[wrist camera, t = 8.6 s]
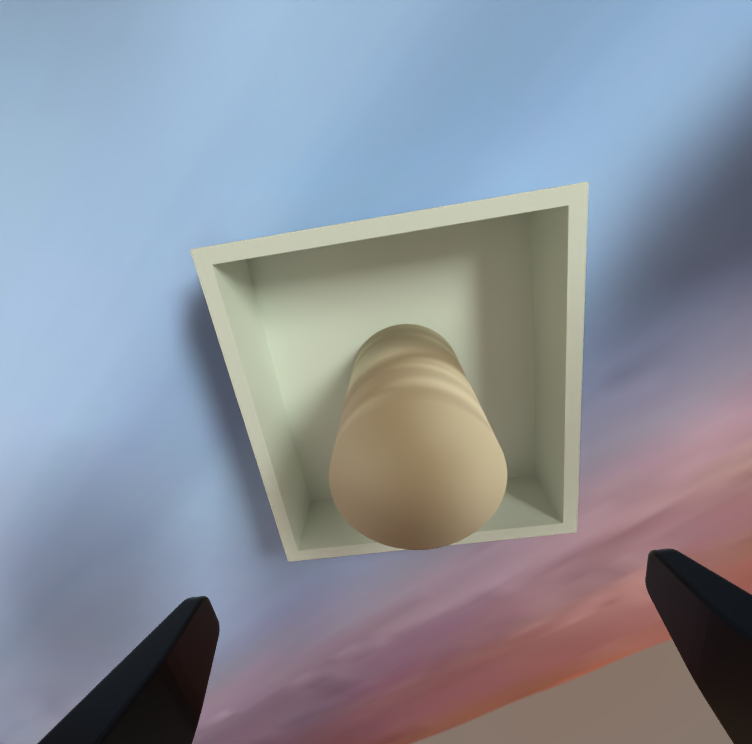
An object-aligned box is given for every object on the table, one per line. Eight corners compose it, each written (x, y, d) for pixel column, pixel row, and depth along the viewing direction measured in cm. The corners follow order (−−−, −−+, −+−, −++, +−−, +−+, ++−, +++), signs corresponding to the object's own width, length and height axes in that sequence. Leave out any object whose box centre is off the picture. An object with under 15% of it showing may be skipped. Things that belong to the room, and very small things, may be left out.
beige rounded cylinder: (454, 316, 17) (503, 390, 10) (463, 415, 19) (510, 540, 12) (343, 332, 18) (311, 415, 10) (362, 428, 20) (346, 557, 12)
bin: (541, 190, 16) (588, 181, 12) (543, 477, 21) (576, 532, 17) (232, 242, 17) (189, 249, 13) (304, 504, 22) (288, 561, 18)
